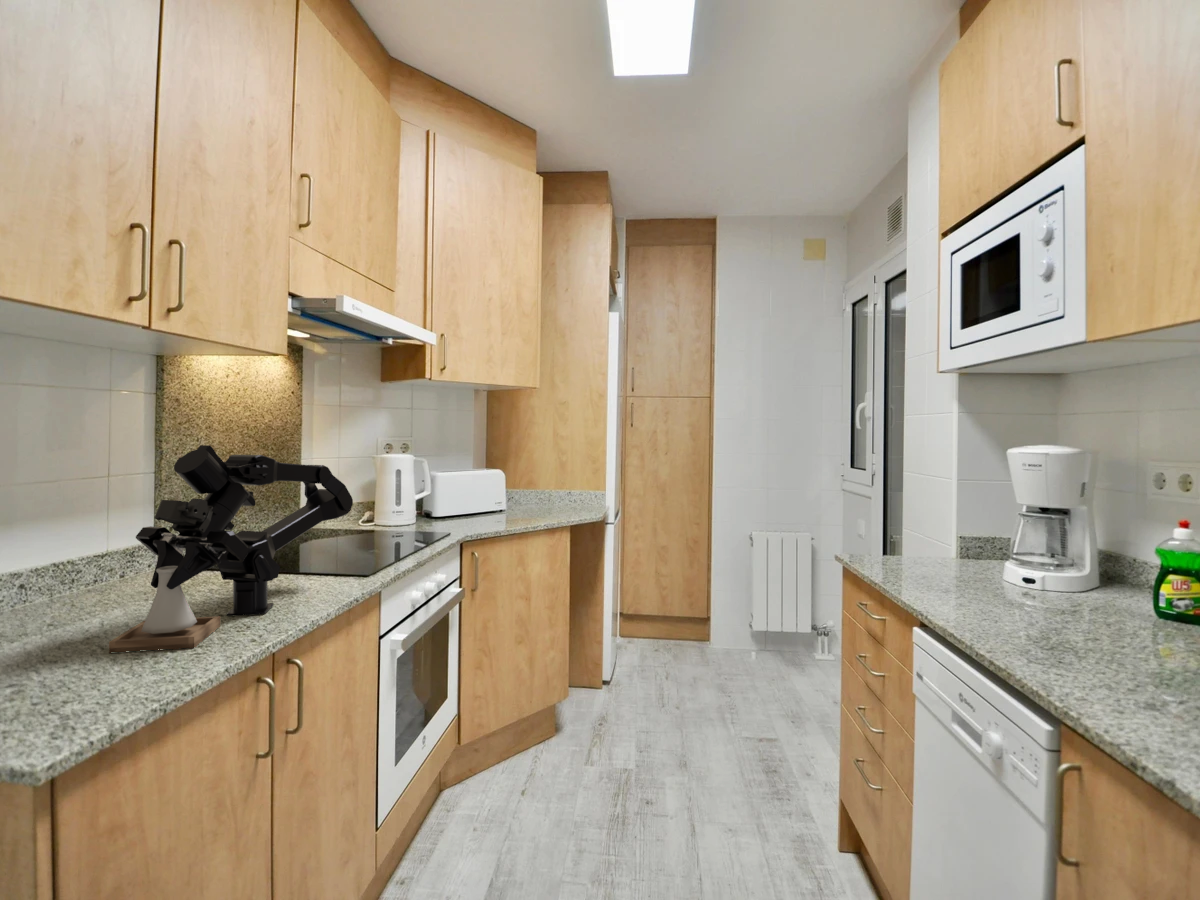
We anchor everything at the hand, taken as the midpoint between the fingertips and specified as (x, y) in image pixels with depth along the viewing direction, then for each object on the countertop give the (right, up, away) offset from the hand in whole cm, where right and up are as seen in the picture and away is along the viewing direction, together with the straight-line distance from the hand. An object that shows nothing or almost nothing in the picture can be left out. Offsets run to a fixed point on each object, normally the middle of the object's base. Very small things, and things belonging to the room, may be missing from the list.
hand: (161, 587), depth 102 cm
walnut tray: (0, -9, +1) cm, 9 cm away
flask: (0, -7, +2) cm, 7 cm away
